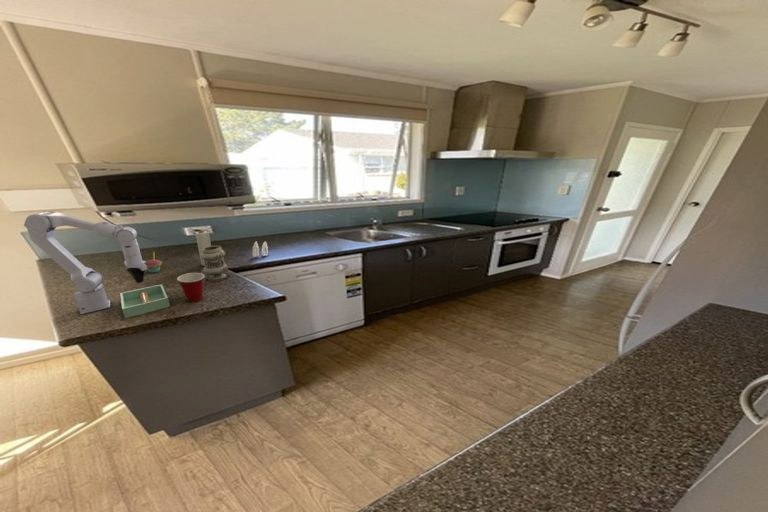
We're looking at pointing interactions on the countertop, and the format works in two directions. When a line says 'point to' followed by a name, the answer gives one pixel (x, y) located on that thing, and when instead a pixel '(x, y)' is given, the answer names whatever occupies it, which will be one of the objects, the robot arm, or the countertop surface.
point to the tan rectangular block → (144, 297)
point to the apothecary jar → (214, 263)
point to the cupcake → (153, 264)
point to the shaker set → (256, 249)
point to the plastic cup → (192, 285)
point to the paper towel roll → (202, 242)
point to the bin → (135, 307)
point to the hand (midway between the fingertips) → (140, 282)
